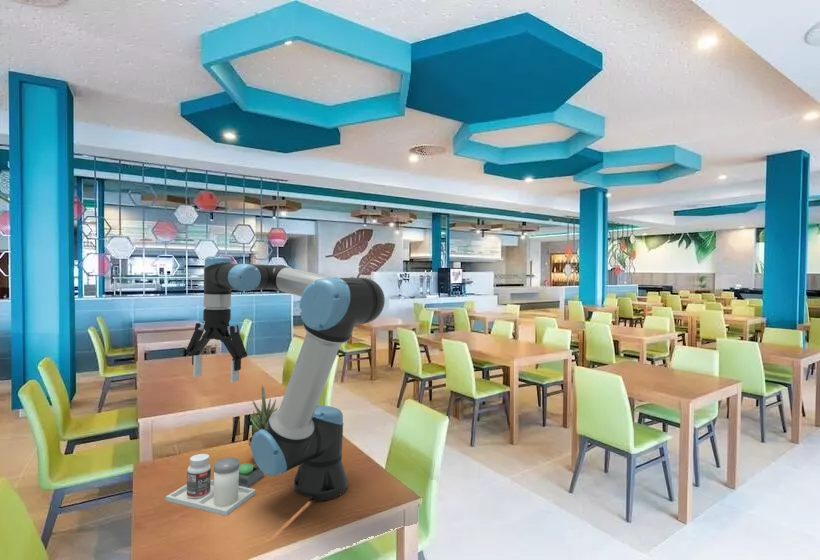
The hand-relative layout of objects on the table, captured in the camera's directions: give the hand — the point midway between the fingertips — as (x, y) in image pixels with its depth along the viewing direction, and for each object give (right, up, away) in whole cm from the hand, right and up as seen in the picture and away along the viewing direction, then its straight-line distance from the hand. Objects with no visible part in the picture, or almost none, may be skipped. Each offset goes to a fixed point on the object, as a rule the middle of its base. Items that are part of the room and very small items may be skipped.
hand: (215, 378), depth 131 cm
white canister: (+10, -28, -16) cm, 34 cm away
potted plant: (+11, -29, +11) cm, 33 cm away
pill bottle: (+1, -28, -14) cm, 31 cm away
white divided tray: (+6, -29, -15) cm, 33 cm away
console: (+11, -29, -5) cm, 32 cm away
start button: (+11, -26, -5) cm, 29 cm away
